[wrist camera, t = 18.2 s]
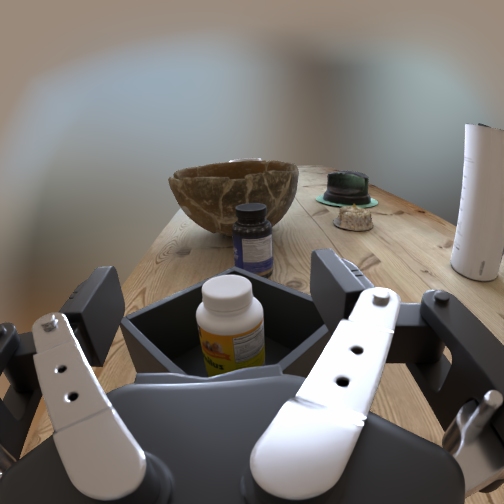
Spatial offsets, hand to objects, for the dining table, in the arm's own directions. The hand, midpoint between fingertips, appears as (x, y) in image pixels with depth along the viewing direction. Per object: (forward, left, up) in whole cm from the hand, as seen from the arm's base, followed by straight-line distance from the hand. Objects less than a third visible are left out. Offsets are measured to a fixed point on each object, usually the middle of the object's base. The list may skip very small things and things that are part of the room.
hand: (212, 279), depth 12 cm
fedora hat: (+80, +35, -17) cm, 89 cm away
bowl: (+37, +39, -17) cm, 56 cm away
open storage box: (+7, +8, -17) cm, 20 cm away
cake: (+58, +22, -17) cm, 64 cm away
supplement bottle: (+7, +8, -16) cm, 19 cm away
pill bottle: (+25, +23, -17) cm, 38 cm away
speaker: (+50, -9, -17) cm, 53 cm away
